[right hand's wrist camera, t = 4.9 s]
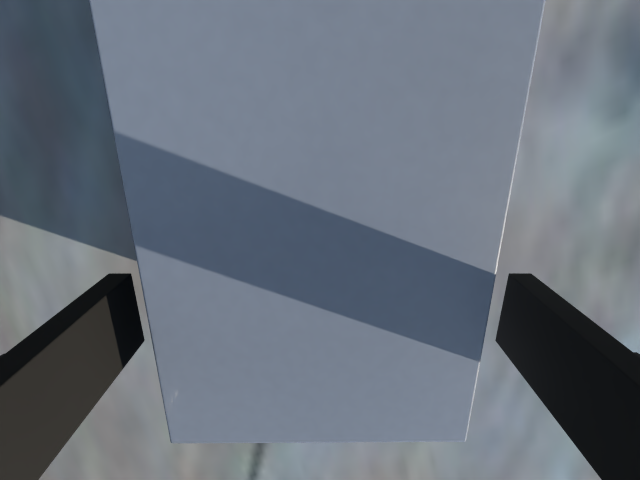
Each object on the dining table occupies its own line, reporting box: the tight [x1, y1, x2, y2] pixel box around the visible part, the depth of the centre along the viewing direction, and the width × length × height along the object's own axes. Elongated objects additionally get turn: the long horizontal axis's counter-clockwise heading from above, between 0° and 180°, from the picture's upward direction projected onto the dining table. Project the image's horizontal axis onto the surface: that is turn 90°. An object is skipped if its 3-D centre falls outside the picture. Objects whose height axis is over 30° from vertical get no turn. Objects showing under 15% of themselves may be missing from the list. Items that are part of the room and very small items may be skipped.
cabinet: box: [89, 0, 545, 443], centre depth 14 cm, size 20×10×10 cm, turn 0°
